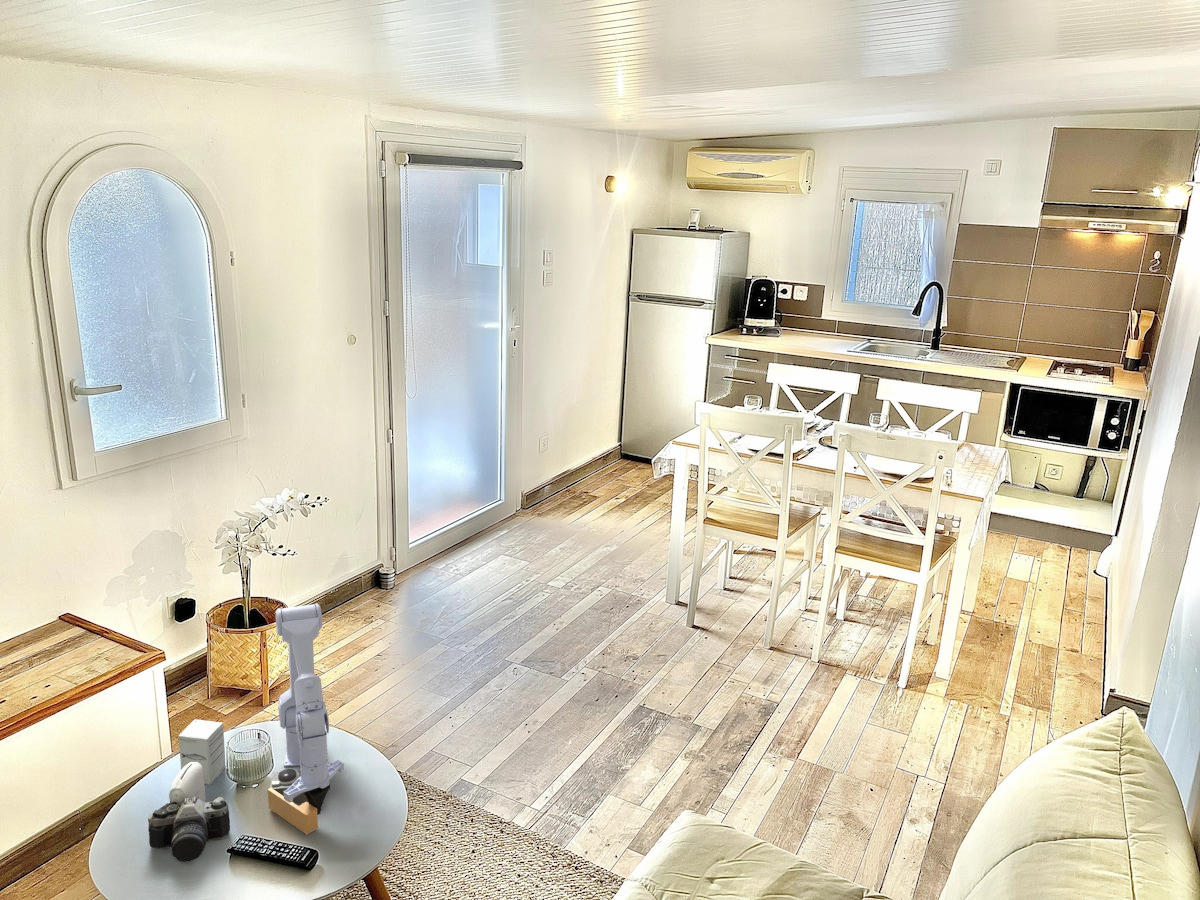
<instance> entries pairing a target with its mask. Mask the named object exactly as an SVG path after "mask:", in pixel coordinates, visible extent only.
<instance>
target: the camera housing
mask: <svg viewBox="0 0 1200 900" xmlns="http://www.w3.org/2000/svg"><path fill="white" fill-rule="evenodd" d="M300 776H301V771H300V769H297V770H295V769H294V768H293V769H292V768H285V769H282V770H280V771H275V772H273V771H272V775H271V781H270V785H269V788H272V789H274V790H275V791H277V792H278V793H280V794H281V795H283V796H284V791H285V790H287V789H288V788H289V787H290V786H291V785H292V784H293V783H294V782H295V781H296V780H297V779H298V778H299V777H300ZM292 802H293V803H295V804H296V805H298V804H303V803H305V802H308V799H307V798H306V796H305V795H304V793H301V794H300V795H298V796H296V797H295V798H293V801H292ZM308 803H309V802H308Z"/></svg>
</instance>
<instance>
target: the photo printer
mask: <svg viewBox="0 0 1200 900" xmlns="http://www.w3.org/2000/svg"><path fill="white" fill-rule="evenodd" d="M194 796H195V797H196V798H197V799H200V800H202V801H203V802H205V803H206V802H207V801H206V800H207V799H206V786H205V784H204V775H203V767H202V766H201V764H200V763H198V762H190V763H188V764H187V765H186V766H185V767H184V768H183V769H182V770H181V769H180V771H178V773H177V775H176V777H174V780H173V781H172V784H171V786H170V789H169V792H168V798H169V799H168V800H169V803H171V802H177V805H181V803H182V802H184V801H185V798H192V797H194Z"/></svg>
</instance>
